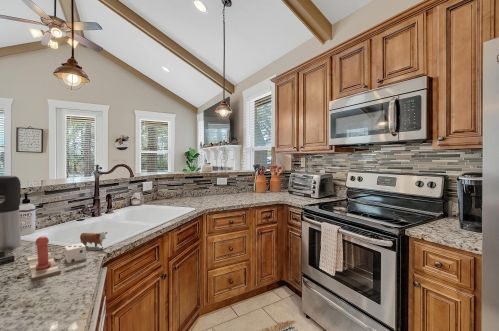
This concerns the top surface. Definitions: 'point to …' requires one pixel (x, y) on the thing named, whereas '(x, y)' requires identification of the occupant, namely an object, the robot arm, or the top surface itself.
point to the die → (75, 252)
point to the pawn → (42, 253)
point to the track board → (43, 273)
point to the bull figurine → (92, 238)
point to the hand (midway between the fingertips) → (9, 255)
